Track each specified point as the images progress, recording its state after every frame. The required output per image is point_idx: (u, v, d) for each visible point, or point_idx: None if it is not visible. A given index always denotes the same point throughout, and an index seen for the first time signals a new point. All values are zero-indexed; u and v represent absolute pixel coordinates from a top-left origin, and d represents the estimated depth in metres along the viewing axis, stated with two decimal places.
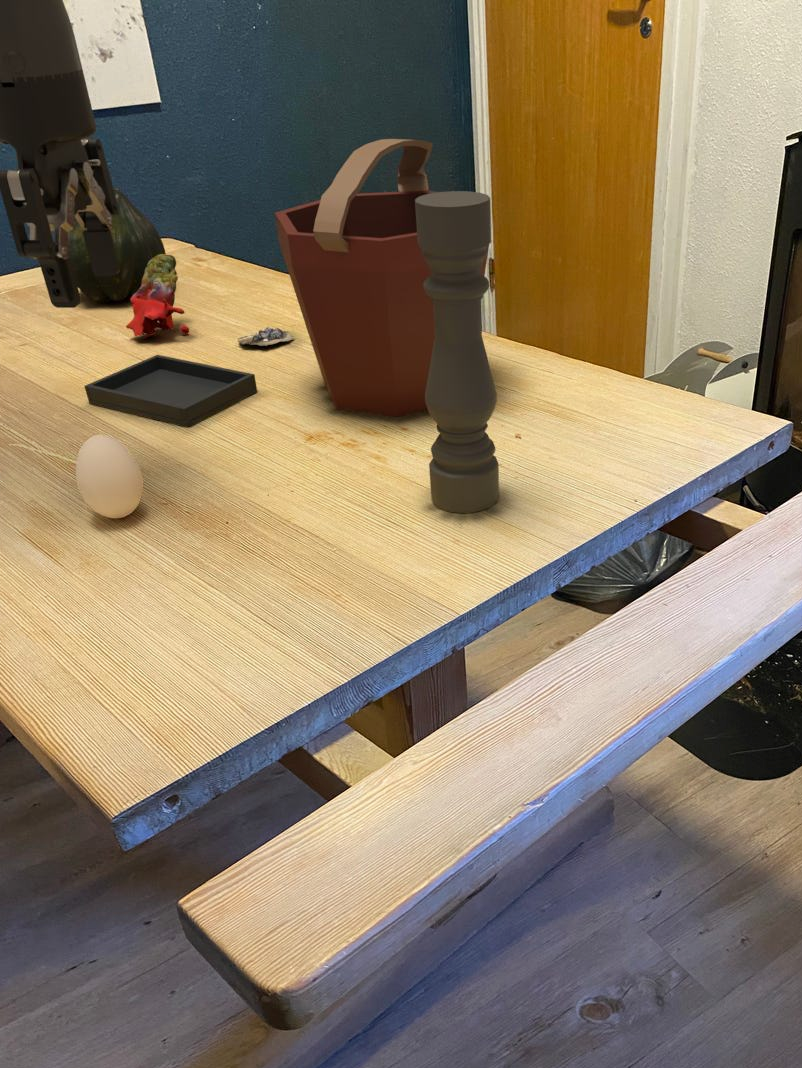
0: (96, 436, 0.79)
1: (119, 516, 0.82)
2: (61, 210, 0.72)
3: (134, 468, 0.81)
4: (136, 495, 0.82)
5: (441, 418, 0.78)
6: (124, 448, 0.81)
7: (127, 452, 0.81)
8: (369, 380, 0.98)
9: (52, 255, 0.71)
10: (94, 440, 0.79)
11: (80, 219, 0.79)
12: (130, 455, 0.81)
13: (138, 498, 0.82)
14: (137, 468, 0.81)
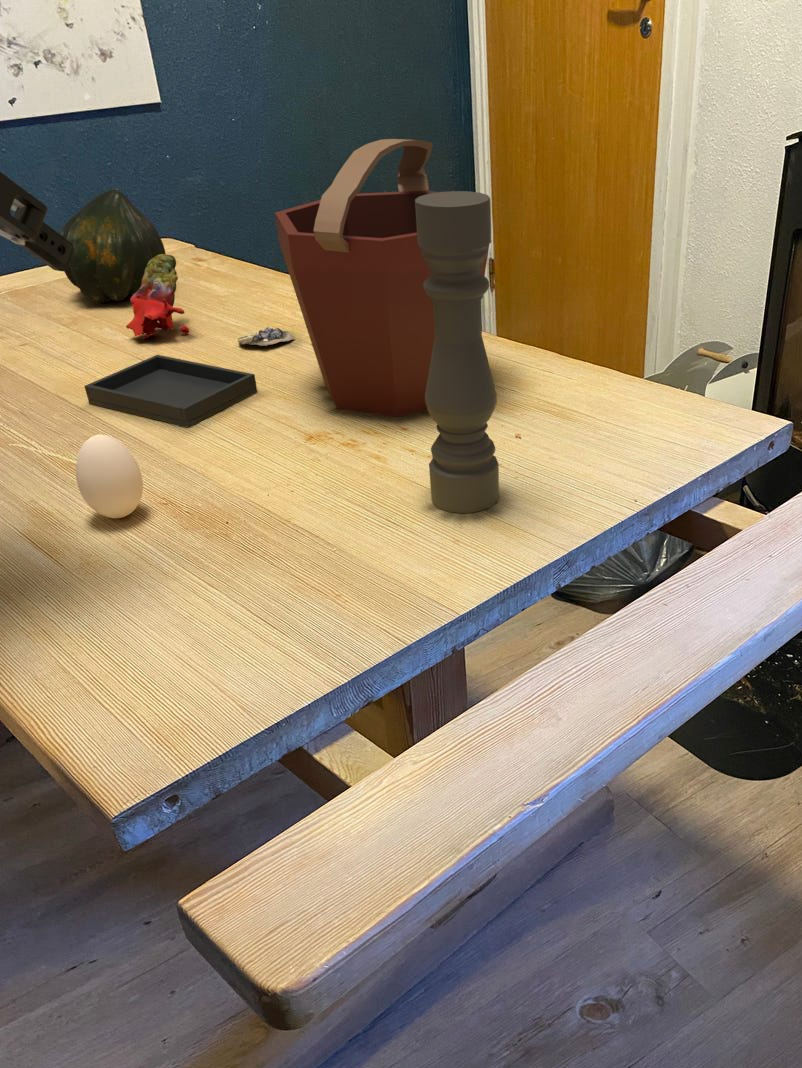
0: (96, 436, 0.79)
1: (119, 516, 0.82)
2: None
3: (134, 468, 0.81)
4: (136, 495, 0.82)
5: (441, 418, 0.78)
6: (124, 448, 0.81)
7: (127, 452, 0.81)
8: (369, 380, 0.98)
9: None
10: (94, 440, 0.79)
11: (12, 207, 0.64)
12: (130, 455, 0.81)
13: (138, 498, 0.82)
14: (137, 468, 0.81)
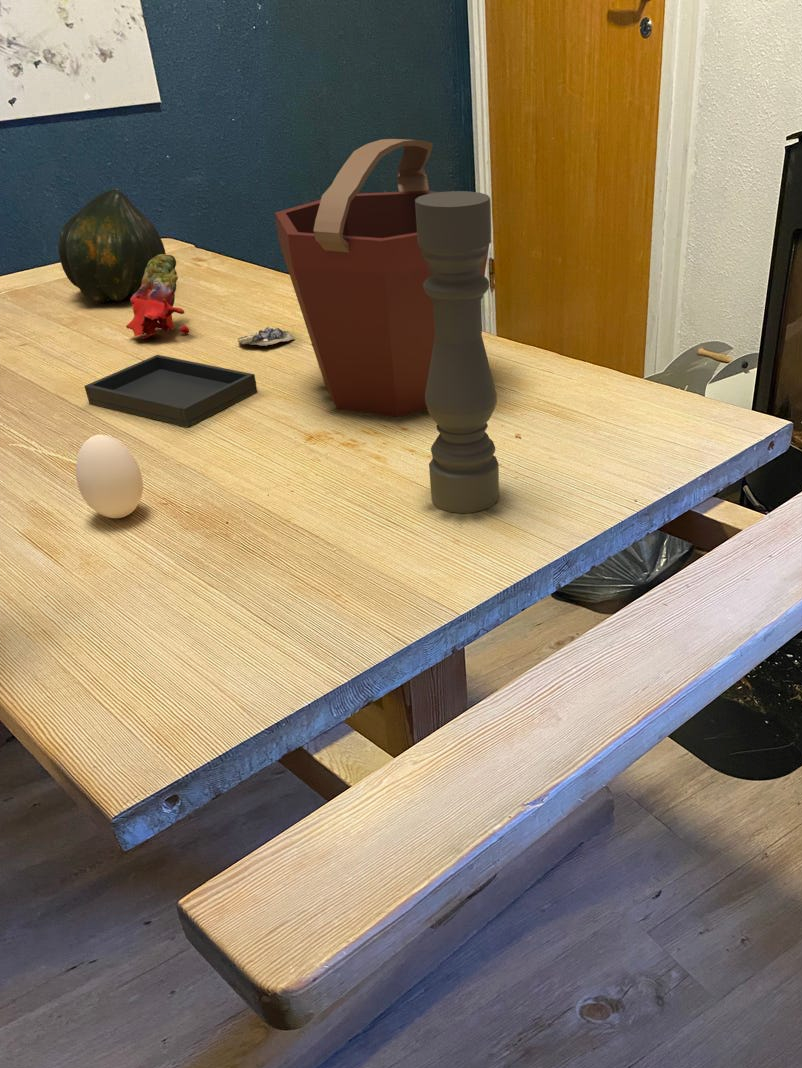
0: (96, 436, 0.79)
1: (119, 516, 0.82)
2: None
3: (134, 468, 0.81)
4: (136, 495, 0.82)
5: (441, 418, 0.78)
6: (124, 448, 0.81)
7: (127, 452, 0.81)
8: (369, 380, 0.98)
9: None
10: (94, 440, 0.79)
11: None
12: (130, 455, 0.81)
13: (138, 498, 0.82)
14: (137, 468, 0.81)
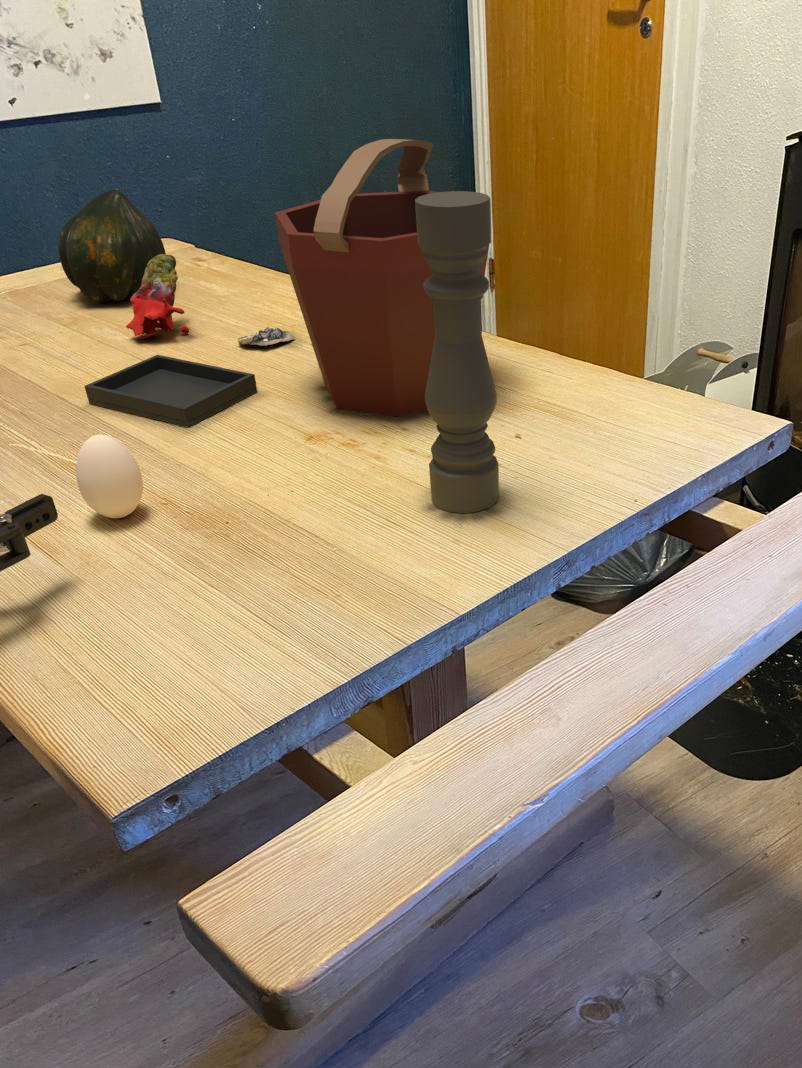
0: (96, 436, 0.79)
1: (119, 516, 0.82)
2: None
3: (134, 468, 0.81)
4: (136, 495, 0.82)
5: (441, 418, 0.78)
6: (124, 448, 0.81)
7: (127, 452, 0.81)
8: (369, 380, 0.98)
9: None
10: (94, 440, 0.79)
11: None
12: (130, 455, 0.81)
13: (138, 498, 0.82)
14: (137, 468, 0.81)
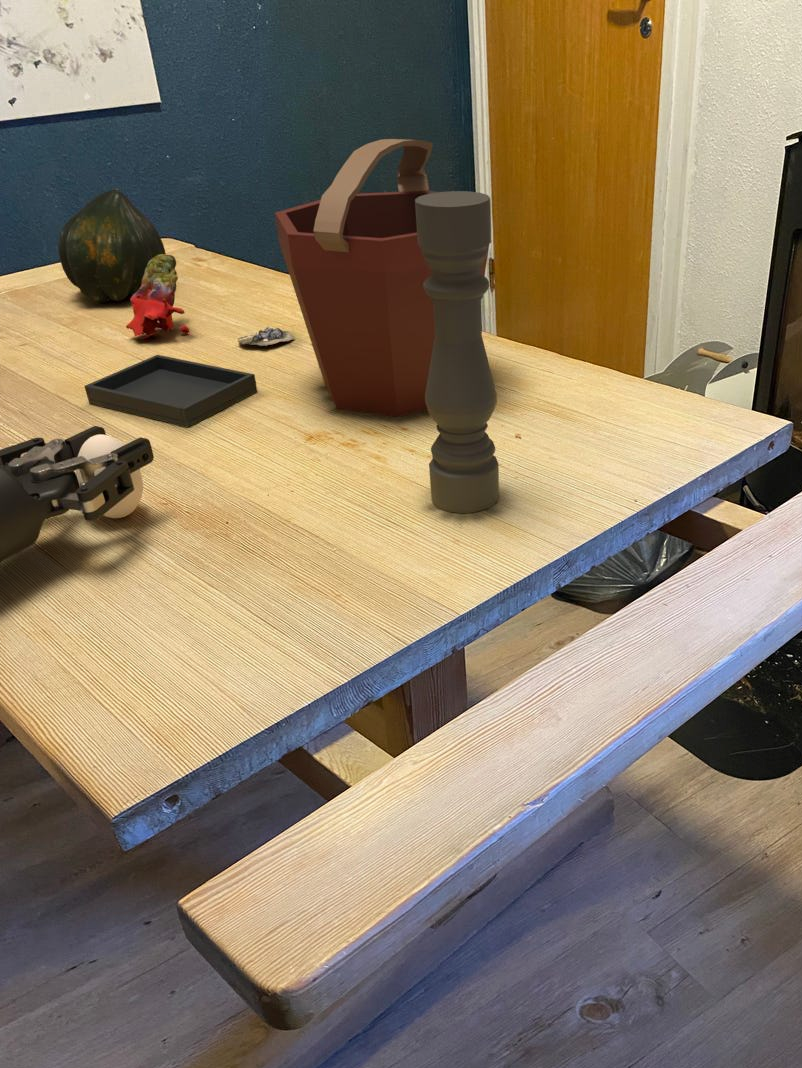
0: (96, 436, 0.79)
1: (119, 516, 0.82)
2: None
3: None
4: (136, 495, 0.82)
5: (441, 418, 0.78)
6: None
7: None
8: (369, 380, 0.98)
9: None
10: (94, 440, 0.79)
11: None
12: None
13: (138, 498, 0.82)
14: None
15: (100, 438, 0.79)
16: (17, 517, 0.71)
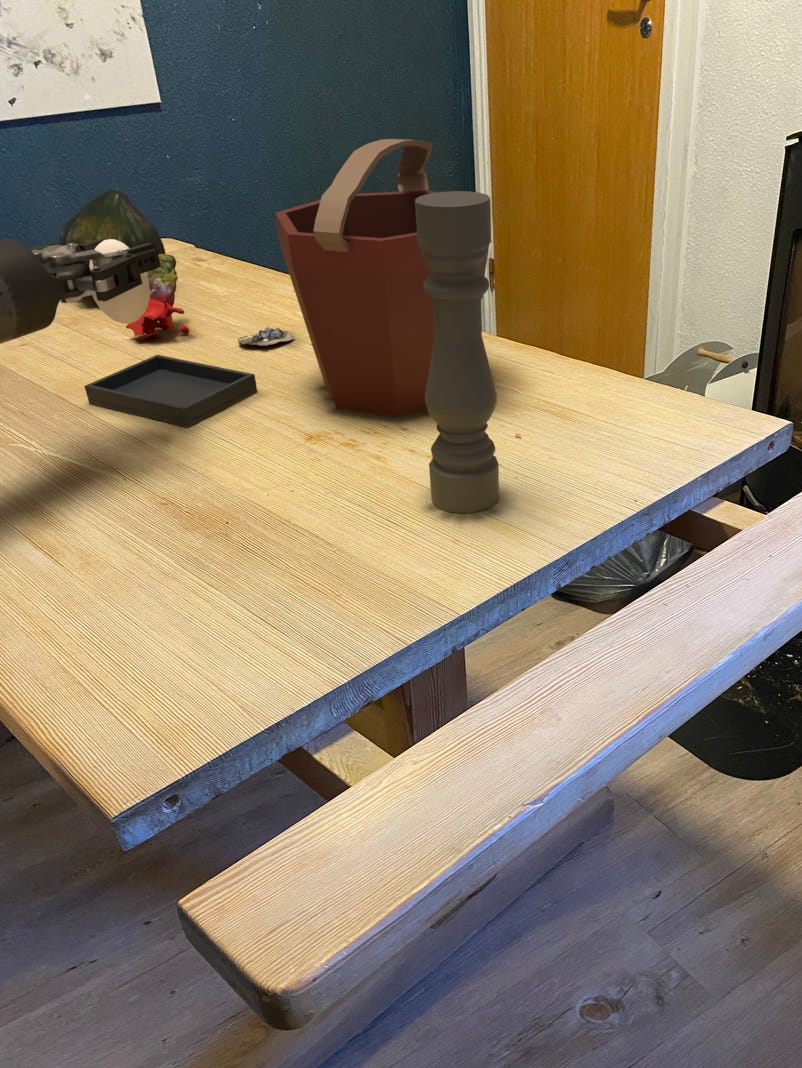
0: (108, 239, 0.87)
1: (128, 320, 0.90)
2: None
3: None
4: (143, 299, 0.89)
5: (441, 418, 0.78)
6: None
7: None
8: (369, 380, 0.98)
9: None
10: (106, 242, 0.86)
11: None
12: None
13: (145, 303, 0.90)
14: (145, 274, 0.89)
15: (111, 241, 0.87)
16: (37, 290, 0.78)
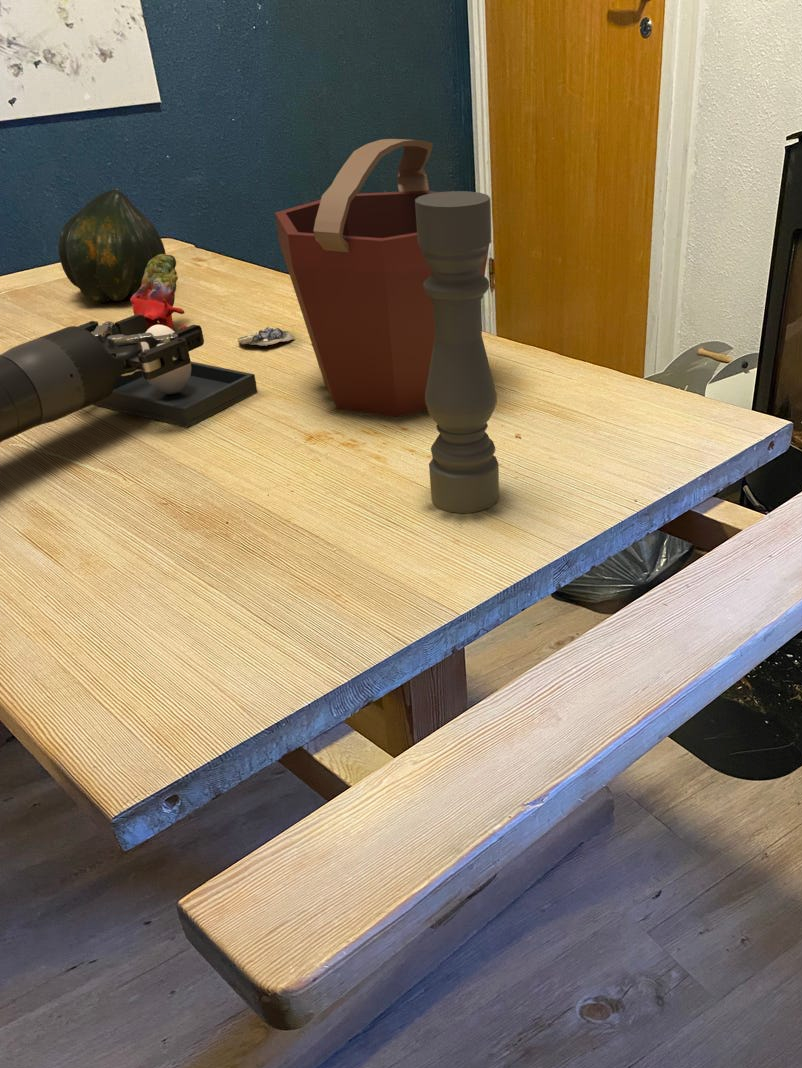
0: (156, 325, 1.01)
1: (172, 391, 1.04)
2: None
3: None
4: (186, 374, 1.04)
5: (441, 418, 0.78)
6: None
7: None
8: (369, 380, 0.98)
9: None
10: (155, 328, 1.01)
11: None
12: None
13: (187, 377, 1.04)
14: None
15: (159, 326, 1.01)
16: (100, 369, 0.92)
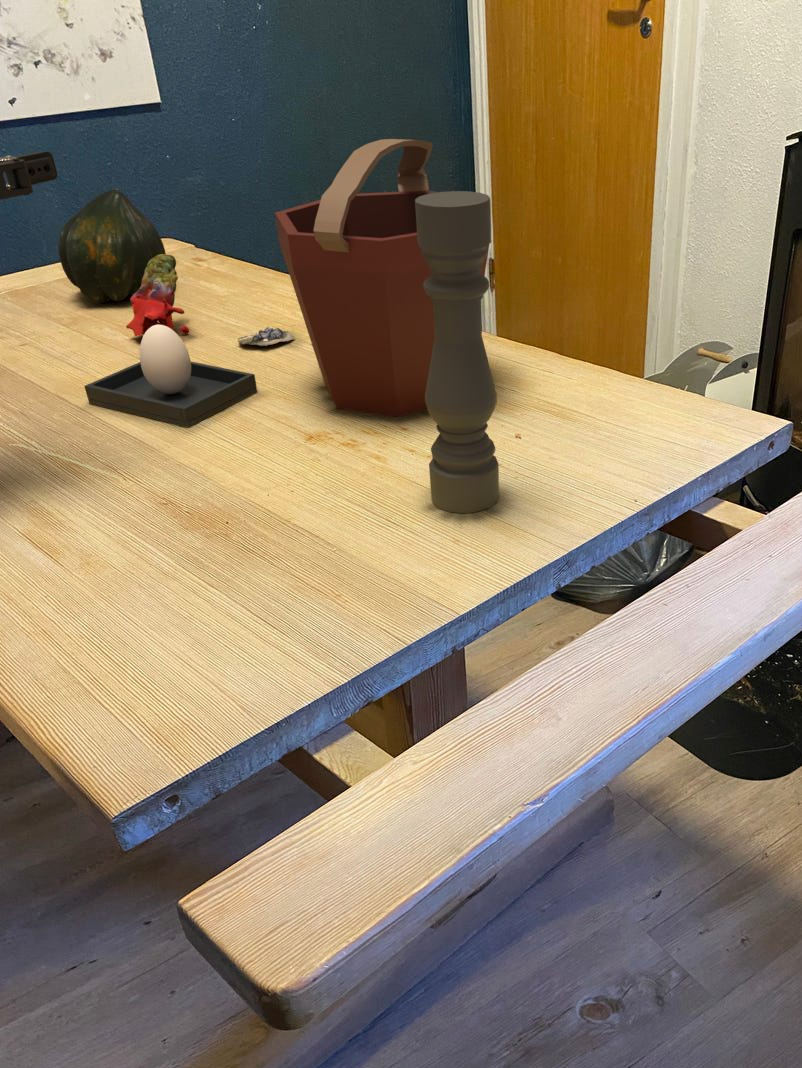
0: (156, 325, 1.01)
1: (172, 391, 1.04)
2: None
3: (185, 352, 1.03)
4: (186, 374, 1.04)
5: (441, 418, 0.78)
6: (177, 336, 1.03)
7: (179, 339, 1.03)
8: (369, 380, 0.98)
9: None
10: (155, 328, 1.01)
11: None
12: (182, 342, 1.03)
13: (187, 377, 1.04)
14: (187, 352, 1.03)
15: (159, 326, 1.01)
16: None
